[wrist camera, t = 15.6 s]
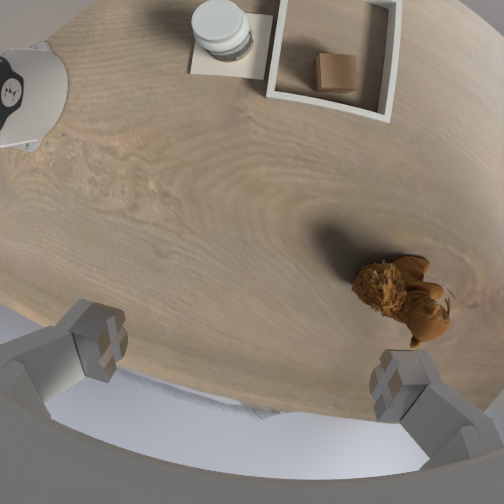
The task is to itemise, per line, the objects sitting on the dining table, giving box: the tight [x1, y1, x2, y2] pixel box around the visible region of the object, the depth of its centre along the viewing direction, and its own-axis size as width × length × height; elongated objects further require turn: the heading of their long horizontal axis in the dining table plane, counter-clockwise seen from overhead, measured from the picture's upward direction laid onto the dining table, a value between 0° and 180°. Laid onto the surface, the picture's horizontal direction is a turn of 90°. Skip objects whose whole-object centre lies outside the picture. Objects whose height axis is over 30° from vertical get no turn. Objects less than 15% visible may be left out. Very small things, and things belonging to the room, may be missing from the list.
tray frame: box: [266, 0, 402, 123], centre depth 28 cm, size 15×18×3 cm
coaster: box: [190, 13, 273, 81], centre depth 30 cm, size 9×9×1 cm
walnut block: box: [314, 53, 358, 93], centre depth 29 cm, size 4×4×5 cm
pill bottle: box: [191, 0, 254, 63], centre depth 25 cm, size 6×6×10 cm
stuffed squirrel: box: [351, 256, 450, 349], centre depth 36 cm, size 10×14×13 cm
